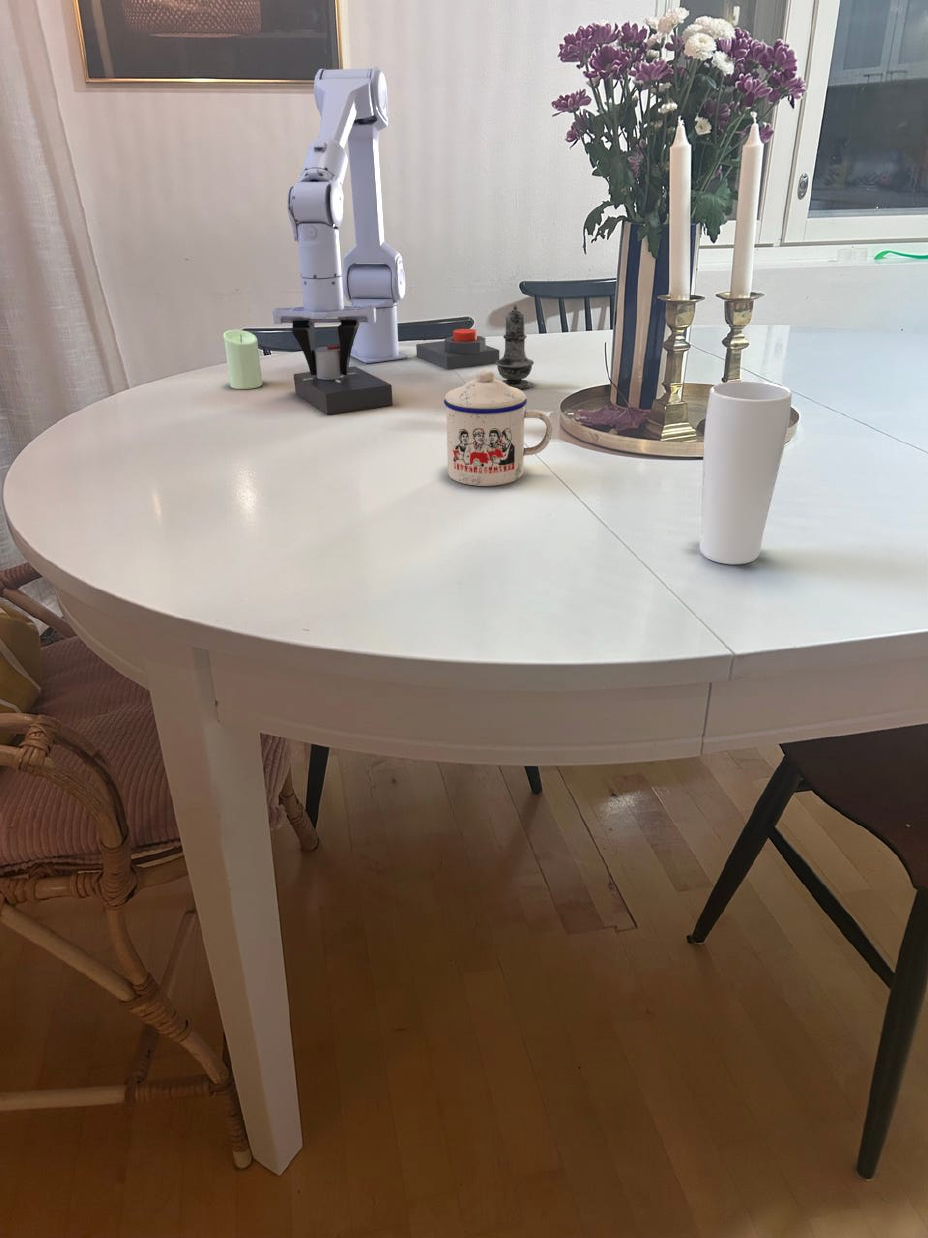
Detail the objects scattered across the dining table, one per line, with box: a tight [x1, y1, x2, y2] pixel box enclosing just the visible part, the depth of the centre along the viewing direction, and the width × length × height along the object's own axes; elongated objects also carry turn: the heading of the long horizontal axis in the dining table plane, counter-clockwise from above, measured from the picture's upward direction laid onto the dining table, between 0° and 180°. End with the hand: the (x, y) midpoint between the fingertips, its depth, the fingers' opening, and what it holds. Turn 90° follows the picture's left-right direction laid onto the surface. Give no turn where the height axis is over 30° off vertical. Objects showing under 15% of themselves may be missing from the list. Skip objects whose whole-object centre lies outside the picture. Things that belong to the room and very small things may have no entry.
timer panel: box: [293, 365, 394, 416], centre depth 133 cm, size 14×10×3 cm
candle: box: [222, 329, 263, 390], centre depth 140 cm, size 5×5×8 cm
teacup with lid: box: [443, 369, 554, 487], centre depth 100 cm, size 12×9×12 cm
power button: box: [452, 328, 478, 342], centre depth 152 cm, size 4×4×2 cm
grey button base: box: [415, 335, 500, 370], centre depth 156 cm, size 12×10×4 cm
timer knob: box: [314, 344, 344, 380], centre depth 133 cm, size 4×4×4 cm
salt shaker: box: [495, 304, 535, 391], centre depth 137 cm, size 6×6×12 cm
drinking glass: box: [699, 380, 793, 565], centre depth 79 cm, size 7×7×15 cm
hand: (329, 373), depth 133 cm, fingers closed on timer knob, 4 cm apart
